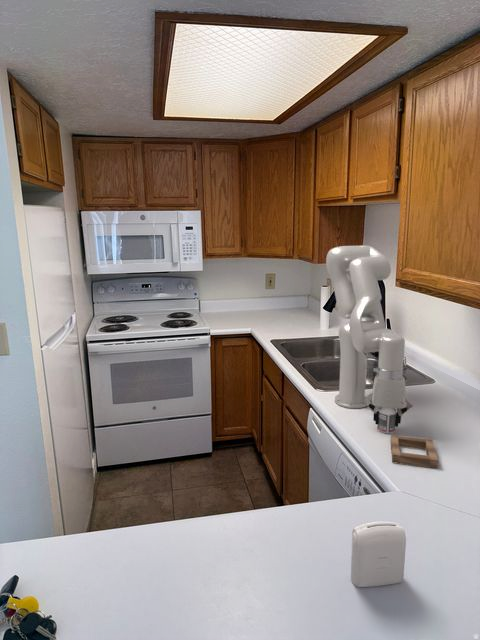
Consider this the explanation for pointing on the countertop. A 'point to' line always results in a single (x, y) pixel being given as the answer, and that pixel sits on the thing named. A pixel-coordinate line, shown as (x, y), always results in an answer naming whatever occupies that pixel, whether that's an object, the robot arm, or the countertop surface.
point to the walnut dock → (413, 459)
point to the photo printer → (378, 554)
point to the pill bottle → (386, 420)
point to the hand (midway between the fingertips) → (386, 423)
